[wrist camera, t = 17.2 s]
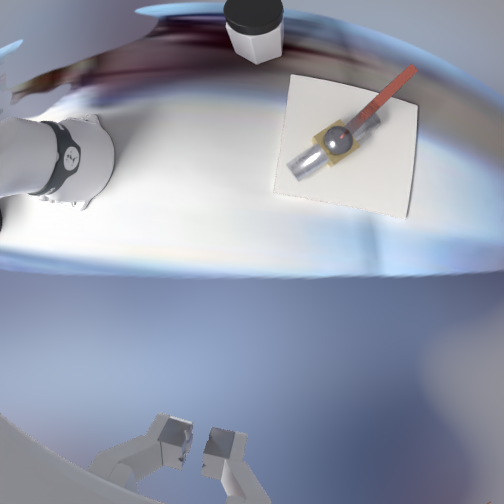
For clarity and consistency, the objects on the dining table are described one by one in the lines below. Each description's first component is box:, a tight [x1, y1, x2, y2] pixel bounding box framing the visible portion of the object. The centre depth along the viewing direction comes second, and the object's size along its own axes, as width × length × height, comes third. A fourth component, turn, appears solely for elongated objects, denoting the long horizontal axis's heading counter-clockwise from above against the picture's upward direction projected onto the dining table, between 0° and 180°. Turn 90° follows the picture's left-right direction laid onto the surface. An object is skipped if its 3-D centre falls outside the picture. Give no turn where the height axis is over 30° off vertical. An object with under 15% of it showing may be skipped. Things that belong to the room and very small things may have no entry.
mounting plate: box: [273, 74, 418, 219], centre depth 41 cm, size 22×20×1 cm
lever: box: [324, 64, 418, 155], centre depth 32 cm, size 16×4×8 cm, turn 136°
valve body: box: [286, 113, 381, 182], centre depth 39 cm, size 16×5×4 cm, turn 126°
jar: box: [223, 0, 284, 64], centre depth 34 cm, size 9×8×12 cm
